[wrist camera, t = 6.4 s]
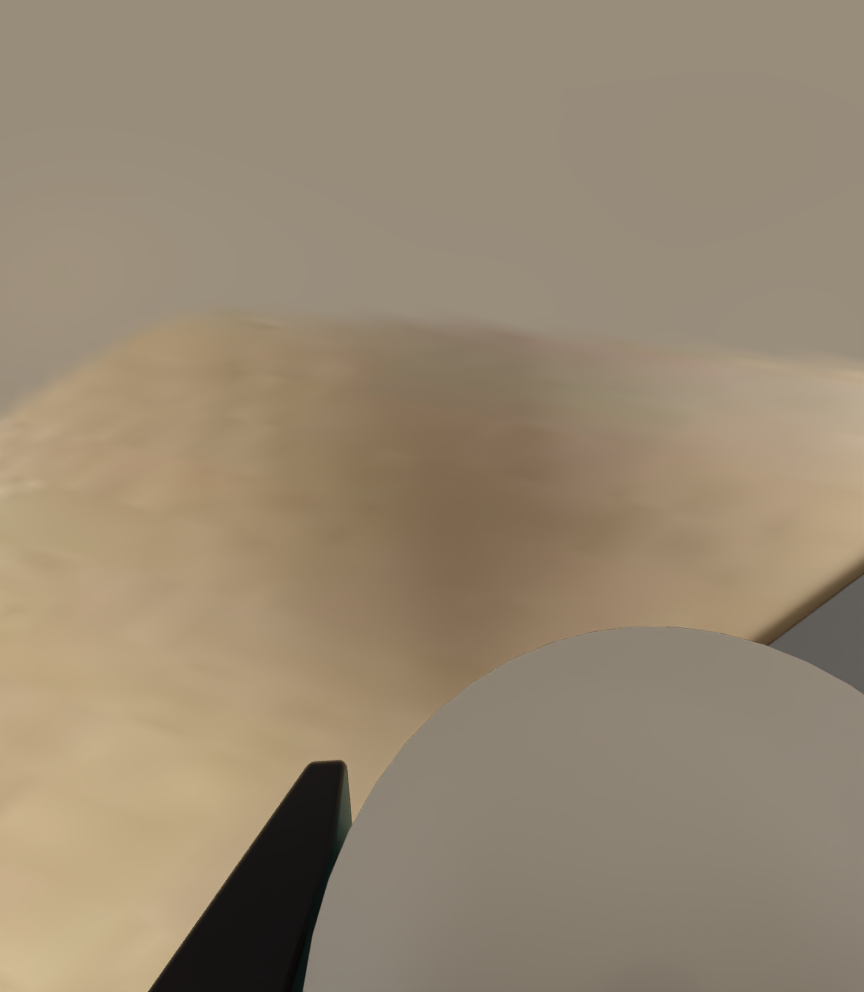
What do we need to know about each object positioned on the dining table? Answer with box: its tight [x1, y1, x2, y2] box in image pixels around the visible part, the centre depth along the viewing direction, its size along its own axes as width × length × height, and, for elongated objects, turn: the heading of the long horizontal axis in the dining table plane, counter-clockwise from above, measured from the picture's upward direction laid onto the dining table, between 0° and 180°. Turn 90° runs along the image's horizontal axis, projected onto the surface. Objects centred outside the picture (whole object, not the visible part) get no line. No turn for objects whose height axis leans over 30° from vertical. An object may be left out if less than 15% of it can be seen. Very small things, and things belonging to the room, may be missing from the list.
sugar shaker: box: [303, 627, 864, 992], centre depth 9 cm, size 5×5×10 cm
